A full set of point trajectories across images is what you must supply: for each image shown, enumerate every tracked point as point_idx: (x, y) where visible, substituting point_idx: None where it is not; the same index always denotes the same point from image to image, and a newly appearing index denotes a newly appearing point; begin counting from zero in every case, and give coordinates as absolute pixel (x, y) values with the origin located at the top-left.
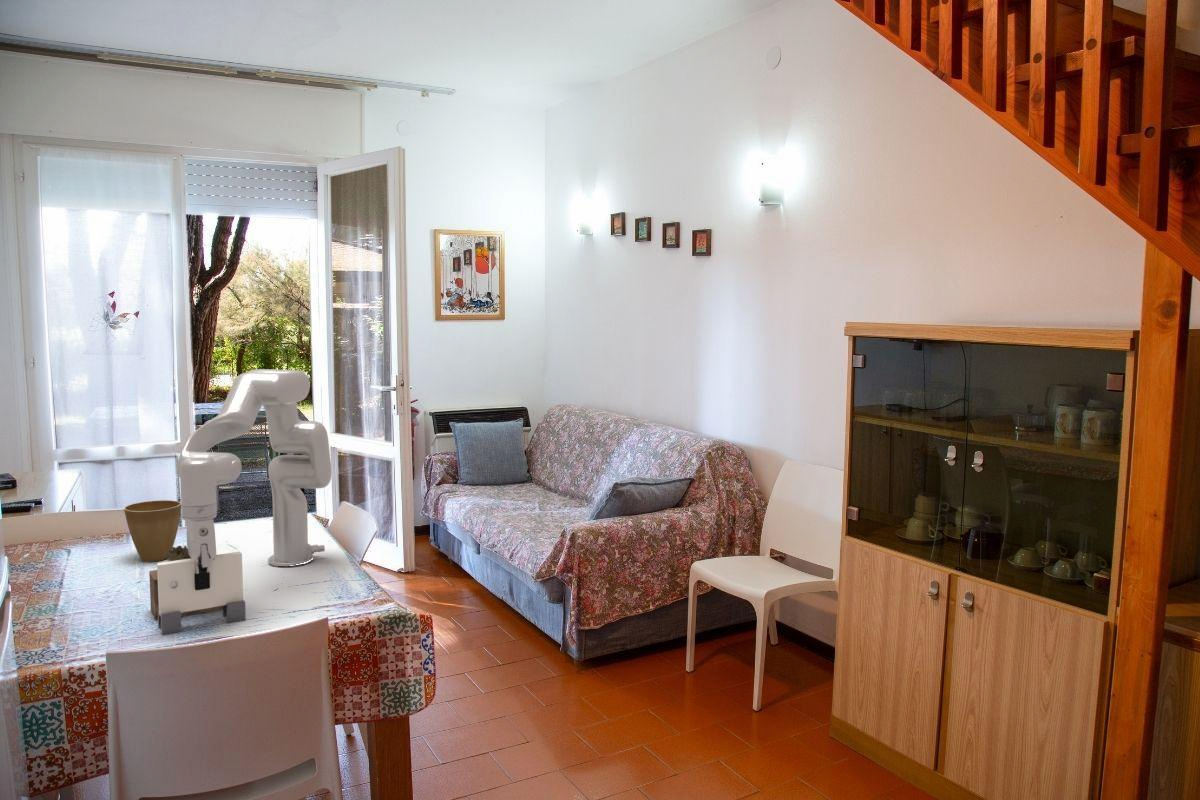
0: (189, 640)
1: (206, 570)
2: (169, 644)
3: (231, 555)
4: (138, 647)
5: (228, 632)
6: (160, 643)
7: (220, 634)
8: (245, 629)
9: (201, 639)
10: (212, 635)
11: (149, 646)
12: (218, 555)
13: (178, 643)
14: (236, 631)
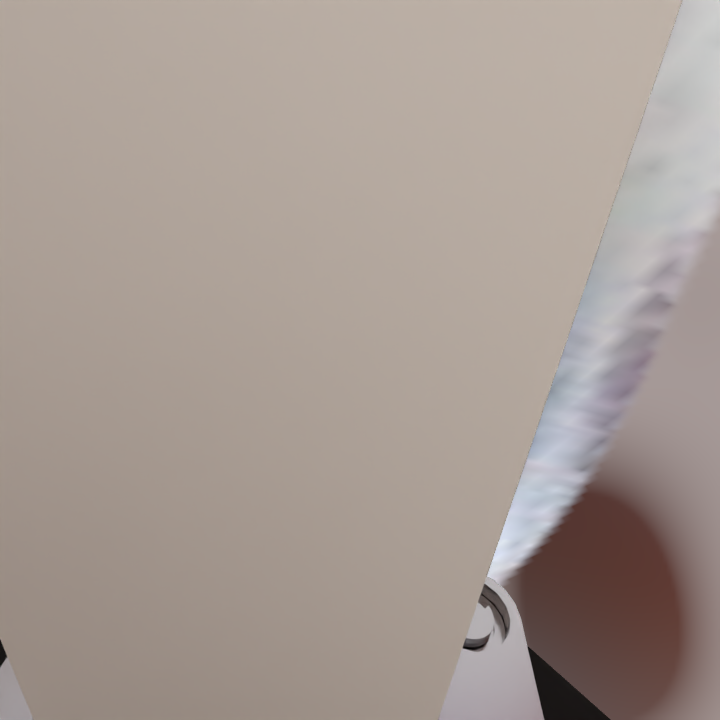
0: (583, 416)
1: (554, 679)
2: (558, 492)
3: (618, 101)
4: (490, 577)
5: (649, 202)
6: (512, 514)
7: (639, 257)
8: (701, 70)
9: (622, 367)
10: (613, 301)
11: (512, 549)
12: (195, 703)
13: (579, 462)
14: (679, 147)
